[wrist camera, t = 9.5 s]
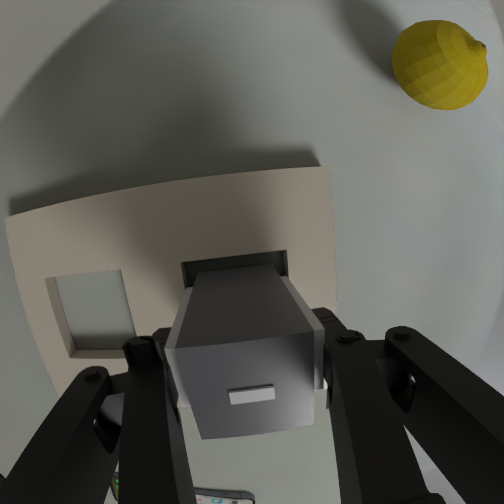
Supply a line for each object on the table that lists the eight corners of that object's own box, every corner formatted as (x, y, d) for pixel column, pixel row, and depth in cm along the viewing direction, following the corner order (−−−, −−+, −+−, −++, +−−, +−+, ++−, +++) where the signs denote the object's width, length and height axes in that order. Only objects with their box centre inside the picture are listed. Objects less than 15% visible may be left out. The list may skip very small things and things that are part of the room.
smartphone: (106, 472, 19) (257, 498, 21) (109, 464, 20) (256, 490, 22) (115, 502, 21) (244, 523, 22) (117, 495, 22) (243, 516, 23)
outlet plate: (68, 394, 17) (62, 403, 16) (15, 215, 14) (4, 217, 13) (328, 377, 19) (333, 387, 18) (321, 167, 16) (329, 166, 15)
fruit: (382, 34, 14) (447, -19, 6) (440, 79, 15) (515, 51, 7) (359, 87, 15) (436, 38, 7) (424, 135, 16) (513, 119, 8)
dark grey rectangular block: (208, 337, 16) (201, 441, 9) (197, 272, 16) (174, 350, 8) (277, 329, 17) (314, 426, 9) (271, 263, 16) (314, 331, 8)
